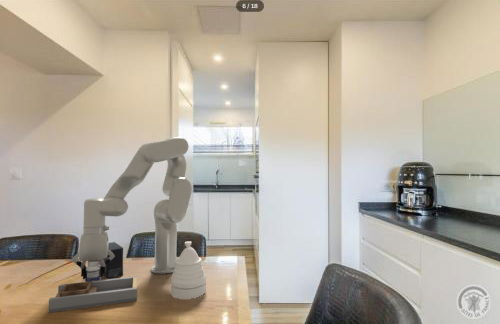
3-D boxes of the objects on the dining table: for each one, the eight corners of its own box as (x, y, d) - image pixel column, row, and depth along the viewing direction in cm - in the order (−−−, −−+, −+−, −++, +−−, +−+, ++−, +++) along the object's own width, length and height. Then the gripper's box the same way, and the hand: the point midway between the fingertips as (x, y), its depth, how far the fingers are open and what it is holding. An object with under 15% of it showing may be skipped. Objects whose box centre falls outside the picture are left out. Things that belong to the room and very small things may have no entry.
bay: (136, 286, 114) (137, 276, 114) (136, 300, 102) (136, 288, 102) (59, 296, 105) (59, 284, 105) (48, 312, 93) (48, 299, 93)
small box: (97, 271, 131) (98, 244, 132) (114, 267, 136) (114, 241, 136) (106, 279, 121) (106, 250, 122) (123, 275, 126) (124, 247, 126)
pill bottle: (89, 283, 117) (89, 258, 117) (103, 282, 118) (103, 258, 118) (82, 288, 112) (83, 262, 112) (97, 288, 112) (97, 262, 112)
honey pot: (168, 288, 113) (169, 240, 114) (201, 283, 118) (201, 238, 119) (173, 301, 101) (174, 249, 102) (209, 295, 106) (210, 245, 107)
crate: (97, 290, 108) (97, 279, 108) (93, 300, 99) (94, 289, 99) (59, 294, 104) (59, 284, 104) (52, 306, 95) (52, 294, 95)
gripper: (118, 227, 122) (117, 271, 121) (71, 229, 116) (70, 276, 115) (117, 230, 115) (116, 277, 114) (66, 233, 109) (65, 283, 108)
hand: (93, 276), depth 115 cm, fingers closed on pill bottle, 5 cm apart
